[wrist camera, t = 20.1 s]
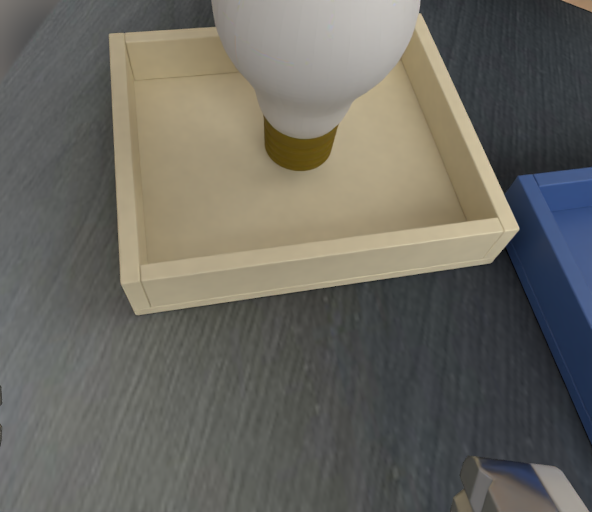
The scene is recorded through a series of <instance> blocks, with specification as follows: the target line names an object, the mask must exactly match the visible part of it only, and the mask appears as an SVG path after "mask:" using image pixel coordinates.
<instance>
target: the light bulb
mask: <svg viewBox="0 0 592 512" xmlns="http://www.w3.org/2000/svg"><path fill="white" fill-rule="evenodd" d="M211 1H212V9H213V15H214V21H215V26H216V29H217V32H218V35H219V37H220V40H221V42H222V45H223V47H224V49H225V51H226V53H227V55H228V56H229V58H230V59H231V61H232V62H233V64H234V65H235V67H236V68H237V70H238V71H239V72H240V73H241V74H242V75H243V76H244V77H245V78H246V80H247V81H248V82H249V83H250V84H251V85H252V87H253V88H254V89H255V92H256V96H257V100H258V103H259V106H260V109H261V111H262V113H263V117H264V140H265V143H264V145H265V149H266V152H267V154H268V155H269V157H270V158H271V159H272V160H273V161H274V162H275V163H276V164H277V165H279V166H281V167H283V168H285V169H288V170H293V171H308V170H312V169H315V168H317V167H319V166H321V165H322V164H323V163H324V162H325V161H326V160H327V159H328V157H329V156H330V153H331V149H332V147H333V143H334V140H335V136H336V133H337V128H338V125H339V123H340V122H341V121H342V119H343V118H344V116H345V115H346V113H347V112H348V110H349V108H350V106H351V104H352V102H353V101H354V100H355V99H357V98H358V97H360V96H362V95H363V94H365V93H367V92H368V91H369V90H371V89H372V88H373V87H375V86H376V85H377V84H378V83H380V82H381V81H382V80H383V79H384V78H385V77H386V76H387V75H388V74H389V72H390V71H391V70H392V69H393V68H394V67H395V66H396V64H397V63H398V61H399V60H400V58H401V57H402V55H403V53H404V51H405V50H406V48H407V46H408V44H409V42H410V40H411V37H412V35H413V32H414V28H415V25H416V21H417V18H418V14H419V8H420V0H211Z"/></svg>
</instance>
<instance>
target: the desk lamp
mask: <svg viewBox="0 0 592 512" xmlns="http://www.w3.org/2000/svg"><path fill="white" fill-rule="evenodd" d="M562 1H564V2H567V3H570V4H572V5H575V6H577V7H580V8H583V9H585V10H588V11H590V12H592V0H562Z"/></svg>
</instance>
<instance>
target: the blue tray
mask: <svg viewBox="0 0 592 512" xmlns="http://www.w3.org/2000/svg"><path fill="white" fill-rule="evenodd" d="M504 196H505V198H506V200H507V202H508V204H509V206H510V209H511V211H512V213H513V215H514V217H515V220H516V222H517V224H518V226H519V231H518V232H517V233H516V234H515V236H514V237H513V238H512V239H511V240H510V241H509V243H508V244H507V245H506V246H505V247H506V249H507V251H508V254H509V256H510V258H511V261H512V263H513V265H514V267H515V270H516V272H517V274H518V277H519V279H520V281H521V283H522V286H523V288H524V290H525V293H526V295H527V297H528V300H529V302H530V304H531V306H532V309H533V311H534V313H535V316H536V318H537V320H538V322H539V325H540V327H541V329H542V332H543V334H544V336H545V339H546V341H547V343H548V345H549V348H550V350H551V352H552V355H553V357H554V359H555V361H556V364H557V366H558V368H559V371H560V373H561V375H562V378H563V380H564V382H565V384H566V387H567V389H568V391H569V394H570V396H571V398H572V400H573V403H574V405H575V407H576V410H577V412H578V414H579V417H580V419H581V421H582V423H583V426H584V428H585V430H586V433H587V435H588V437H589V439H590V442H591V444H592V167H587V168H579V169H570V170H562V171H554V172H545V173H537V174H533V175H532V174H528V175H519V176H517V178H516V179H515V180H514V182H513V183H512V185H511V186H510V187H509V189H508V190H507V192H506V193H505V194H504Z"/></svg>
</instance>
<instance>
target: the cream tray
mask: <svg viewBox="0 0 592 512" xmlns="http://www.w3.org/2000/svg"><path fill="white" fill-rule="evenodd" d="M109 50H110V71H111V92H112V114H113V135H114V156H115V178H116V199H117V220H118V242H119V263H120V283H121V286H122V288H123V290H124V292H125V294H126V296H127V298H128V300H129V302H130V304H131V306H132V308H133V311H134V313H135V315H143V314H150V313H156V312H163V311H170V310H177V309H184V308H190V307H197V306H204V305H211V304H217V303H224V302H231V301H238V300H245V299H251V298H258V297H265V296H272V295H279V294H285V293H292V292H299V291H306V290H313V289H319V288H326V287H333V286H340V285H347V284H353V283H360V282H367V281H374V280H381V279H387V278H394V277H401V276H408V275H415V274H421V273H428V272H435V271H442V270H448V269H455V268H462V267H469V266H476V265H482V264H489V263H492V262H493V261H494V259H495V258H496V257H497V256H498V255H499V253H500V252H501V251H502V250H503V249H504V247H505V246H506V245H507V244H508V243H509V241H510V240H511V239H512V238H513V237H514V236H515V234H516V233H517V232H518V231H519V226H518V224H517V222H516V220H515V217H514V215H513V213H512V211H511V209H510V206H509V204H508V202H507V200H506V198H505V196H504V193H503V191H502V189H501V187H500V185H499V182H498V180H497V178H496V176H495V174H494V172H493V169H492V167H491V165H490V163H489V161H488V158H487V156H486V154H485V152H484V150H483V148H482V145H481V143H480V141H479V139H478V137H477V134H476V132H475V130H474V128H473V126H472V124H471V121H470V119H469V117H468V115H467V113H466V111H465V108H464V106H463V104H462V102H461V100H460V97H459V95H458V93H457V91H456V89H455V87H454V84H453V82H452V80H451V78H450V76H449V73H448V71H447V69H446V67H445V65H444V63H443V60H442V58H441V56H440V54H439V52H438V49H437V47H436V45H435V43H434V41H433V39H432V36H431V34H430V32H429V30H428V28H427V25H426V23H425V21H424V19H423V17H422V15H421V14H418V18H417V21H416V25H415V28H414V32H413V35H412V37H411V40H410V42H409V44H408V46H407V48H406V50H405V51H404V53H403V55H402V57H401V58H400V60H399V61H398V63H397V64H396V66H395V67H394V68H393V69H392V70H391V71H390V72H389V74H388V75H387V76H386V77H385V78H384V79H383V80H382V81H381V82H380V83H378V84H377V85H376V86H375V87H373V88H372V89H371V90H369V91H368V92H367V93H365V94H363V95H362V96H360V97H358V98H357V99H355V100H354V101H353V102H352V104H351V106H350V108H349V110H348V112H347V113H346V115H345V116H344V118H343V119H342V121H341V122H340V123H339V125H338V128H337V133H336V136H335V140H334V143H333V147H332V149H331V153H330V156H329V157H328V159H327V160H326V161H325V162H324V163H323V164H322V165H321V166H319V167H317V168H315V169H312V170H308V171H293V170H288V169H285V168H283V167H281V166H279V165H277V164H276V163H275V162H274V161H273V160H272V159H271V158H270V157H269V155H268V154H267V152H266V149H265V145H264V143H265V140H264V117H263V113H262V111H261V109H260V106H259V103H258V100H257V96H256V92H255V89H254V88H253V87H252V85H251V84H250V83H249V82H248V81H247V80H246V78H245V77H244V76H243V75H242V74H241V73H240V72H239V71H238V70H237V68H236V67H235V65H234V64H233V62H232V61H231V59H230V58H229V56H228V55H227V53H226V51H225V49H224V47H223V45H222V42H221V40H220V37H219V35H218V32H217V29H216V27H207V28H191V29H176V30H160V31H145V32H129V33H125V35H124V33H112V34H109Z"/></svg>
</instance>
